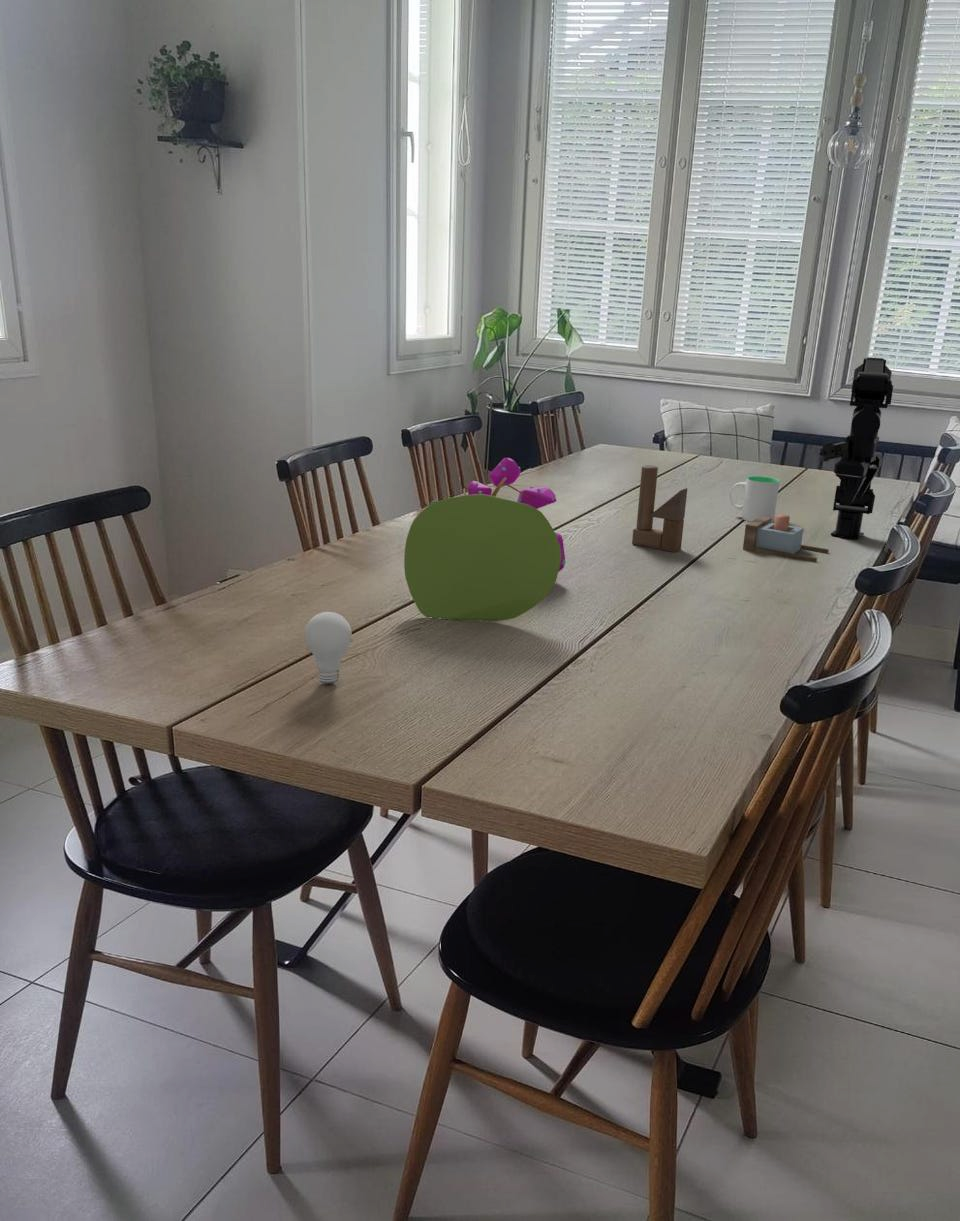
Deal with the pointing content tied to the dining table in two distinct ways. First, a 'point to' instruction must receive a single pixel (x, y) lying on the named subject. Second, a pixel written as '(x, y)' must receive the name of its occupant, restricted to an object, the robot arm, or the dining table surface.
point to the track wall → (750, 545)
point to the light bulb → (328, 643)
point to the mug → (758, 497)
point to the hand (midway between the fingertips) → (853, 501)
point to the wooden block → (658, 515)
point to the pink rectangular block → (781, 522)
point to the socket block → (779, 538)
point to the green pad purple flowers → (483, 552)
